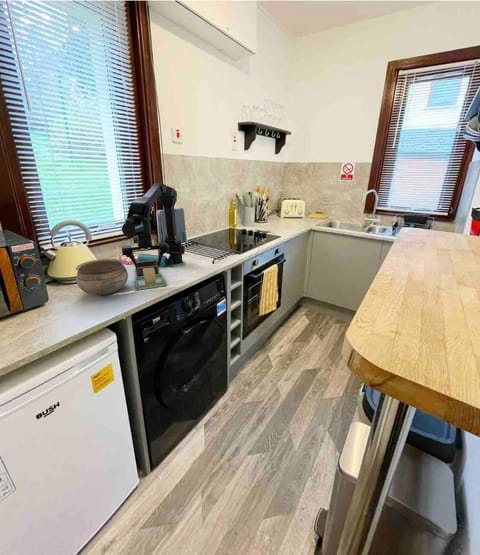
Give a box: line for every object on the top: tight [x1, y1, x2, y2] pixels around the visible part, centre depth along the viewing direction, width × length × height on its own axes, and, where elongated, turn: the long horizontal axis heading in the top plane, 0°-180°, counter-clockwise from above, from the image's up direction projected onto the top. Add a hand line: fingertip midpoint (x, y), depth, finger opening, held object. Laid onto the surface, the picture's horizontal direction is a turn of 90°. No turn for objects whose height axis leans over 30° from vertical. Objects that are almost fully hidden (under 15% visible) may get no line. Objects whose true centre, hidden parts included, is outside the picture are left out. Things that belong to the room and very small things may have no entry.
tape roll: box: [143, 268, 157, 285], centre depth 121 cm, size 7×5×7 cm, turn 23°
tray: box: [134, 273, 167, 292], centre depth 122 cm, size 12×11×2 cm
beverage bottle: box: [136, 253, 174, 268], centre depth 144 cm, size 6×7×20 cm
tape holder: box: [134, 260, 160, 277], centre depth 134 cm, size 14×10×5 cm
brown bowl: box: [75, 258, 129, 297], centre depth 111 cm, size 25×19×12 cm
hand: (147, 267), depth 120 cm, fingers open, 9 cm apart
